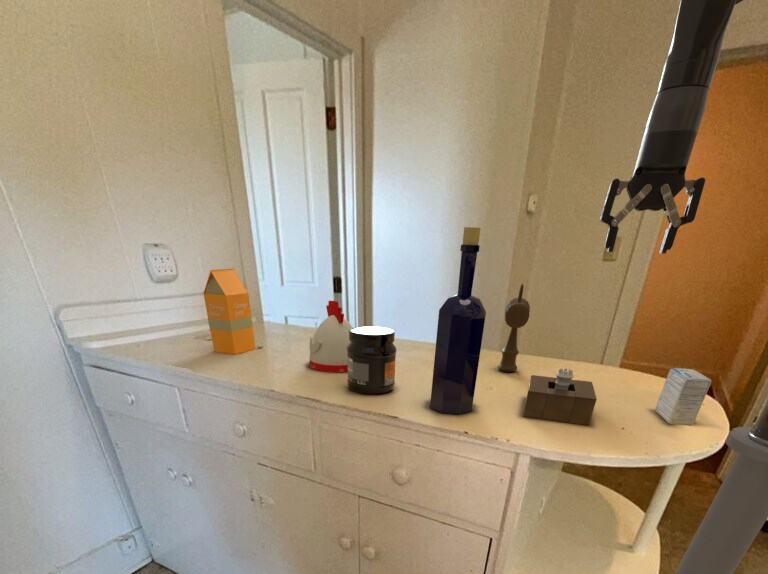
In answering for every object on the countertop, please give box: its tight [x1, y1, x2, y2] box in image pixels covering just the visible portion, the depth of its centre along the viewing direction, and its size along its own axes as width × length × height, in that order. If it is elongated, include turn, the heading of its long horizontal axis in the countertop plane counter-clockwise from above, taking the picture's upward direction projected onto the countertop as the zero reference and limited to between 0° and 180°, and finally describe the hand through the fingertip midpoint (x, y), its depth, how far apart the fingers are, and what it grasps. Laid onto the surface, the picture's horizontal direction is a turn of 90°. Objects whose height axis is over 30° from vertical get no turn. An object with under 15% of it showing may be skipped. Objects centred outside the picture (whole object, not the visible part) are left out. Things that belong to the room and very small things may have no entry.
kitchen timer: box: [309, 300, 354, 373], centre depth 106 cm, size 14×14×15 cm
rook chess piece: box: [555, 368, 574, 390], centre depth 83 cm, size 4×4×8 cm
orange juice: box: [202, 268, 256, 356], centre depth 115 cm, size 8×9×20 cm
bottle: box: [428, 226, 487, 416], centre depth 77 cm, size 9×9×30 cm
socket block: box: [522, 374, 598, 426], centre depth 84 cm, size 12×12×5 cm
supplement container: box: [347, 326, 397, 395], centre depth 91 cm, size 10×10×12 cm
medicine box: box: [654, 367, 712, 427], centre depth 81 cm, size 8×4×9 cm, turn 169°
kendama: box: [497, 283, 531, 373], centre depth 105 cm, size 6×10×20 cm, turn 165°
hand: (635, 252), depth 75 cm, fingers open, 8 cm apart
